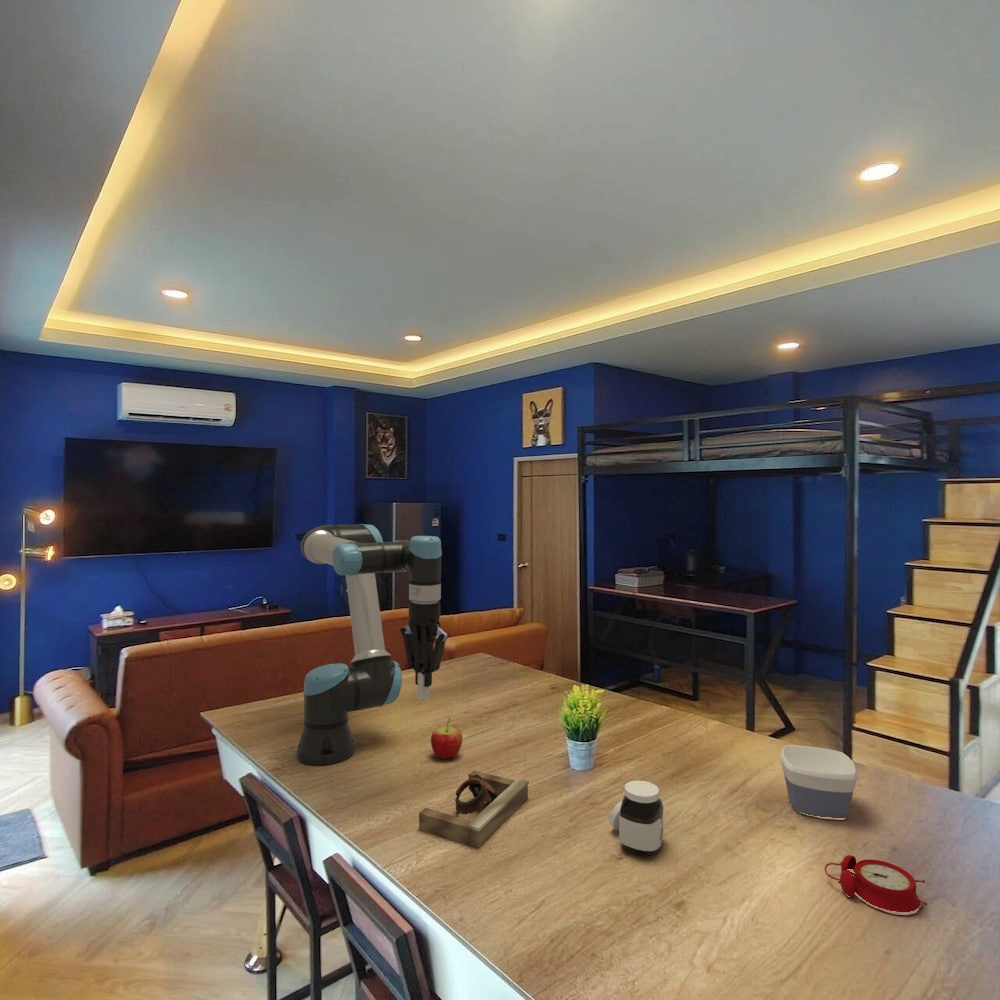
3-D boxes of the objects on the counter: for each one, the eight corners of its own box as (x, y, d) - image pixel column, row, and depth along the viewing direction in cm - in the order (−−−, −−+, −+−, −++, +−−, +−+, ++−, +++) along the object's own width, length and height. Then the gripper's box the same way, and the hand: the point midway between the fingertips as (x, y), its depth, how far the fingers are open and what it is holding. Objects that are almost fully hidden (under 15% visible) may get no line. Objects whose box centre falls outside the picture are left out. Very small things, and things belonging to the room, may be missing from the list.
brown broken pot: (506, 822, 133) (491, 795, 131) (467, 842, 133) (451, 815, 130) (498, 783, 145) (483, 758, 142) (462, 801, 144) (446, 776, 142)
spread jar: (652, 864, 117) (652, 803, 117) (597, 846, 123) (597, 788, 123) (670, 835, 127) (670, 779, 127) (619, 820, 133) (619, 766, 133)
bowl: (848, 797, 144) (848, 750, 144) (863, 831, 129) (864, 778, 129) (777, 787, 149) (777, 741, 149) (784, 818, 134) (784, 767, 134)
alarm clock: (930, 906, 100) (829, 857, 108) (920, 940, 101) (820, 889, 109) (926, 873, 109) (833, 830, 117) (917, 904, 110) (825, 860, 117)
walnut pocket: (418, 830, 129) (418, 810, 129) (474, 784, 150) (474, 767, 150) (478, 848, 122) (478, 828, 122) (528, 798, 143) (528, 780, 143)
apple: (467, 753, 168) (467, 717, 168) (452, 765, 160) (452, 727, 160) (441, 748, 171) (441, 712, 171) (425, 760, 163) (425, 722, 163)
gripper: (393, 600, 146) (391, 698, 146) (438, 606, 140) (436, 709, 140) (412, 595, 152) (410, 689, 153) (456, 601, 146) (454, 699, 147)
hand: (423, 698), depth 147 cm, fingers closed
